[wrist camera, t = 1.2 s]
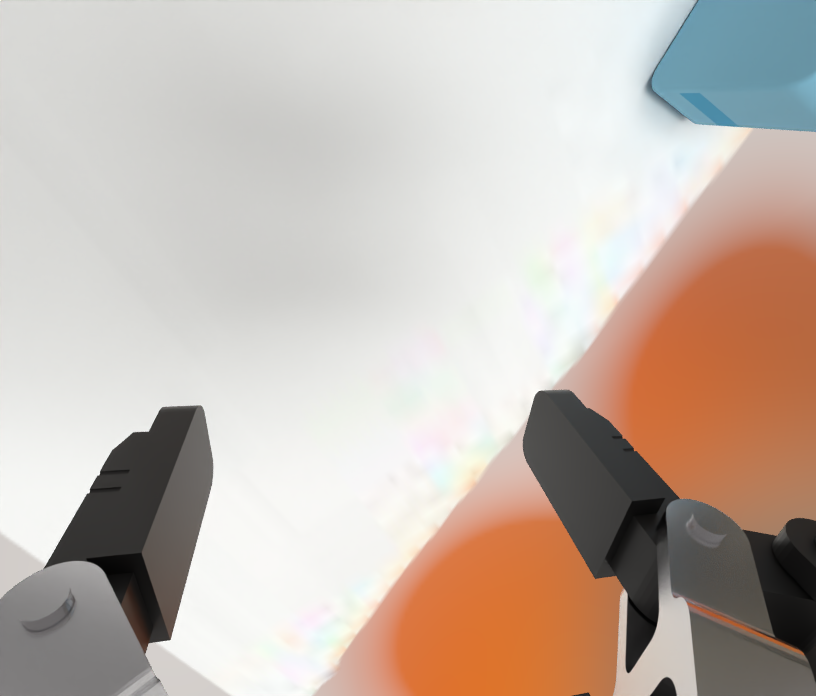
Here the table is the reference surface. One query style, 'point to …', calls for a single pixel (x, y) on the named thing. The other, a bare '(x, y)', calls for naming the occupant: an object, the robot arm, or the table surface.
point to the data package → (744, 65)
